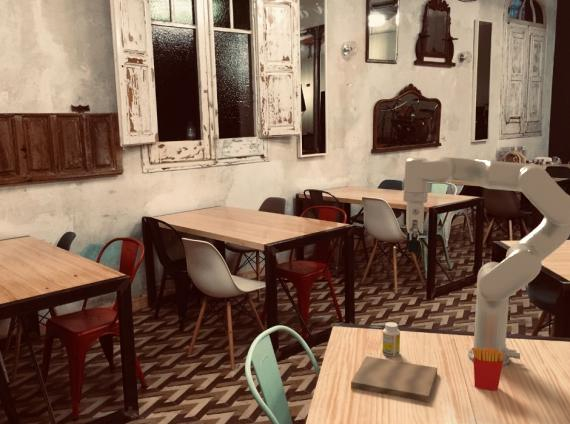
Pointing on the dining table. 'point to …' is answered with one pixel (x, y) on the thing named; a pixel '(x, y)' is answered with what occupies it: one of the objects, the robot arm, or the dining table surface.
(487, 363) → the french fries
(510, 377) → the dining table surface
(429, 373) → the walnut board
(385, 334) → the supplement bottle
